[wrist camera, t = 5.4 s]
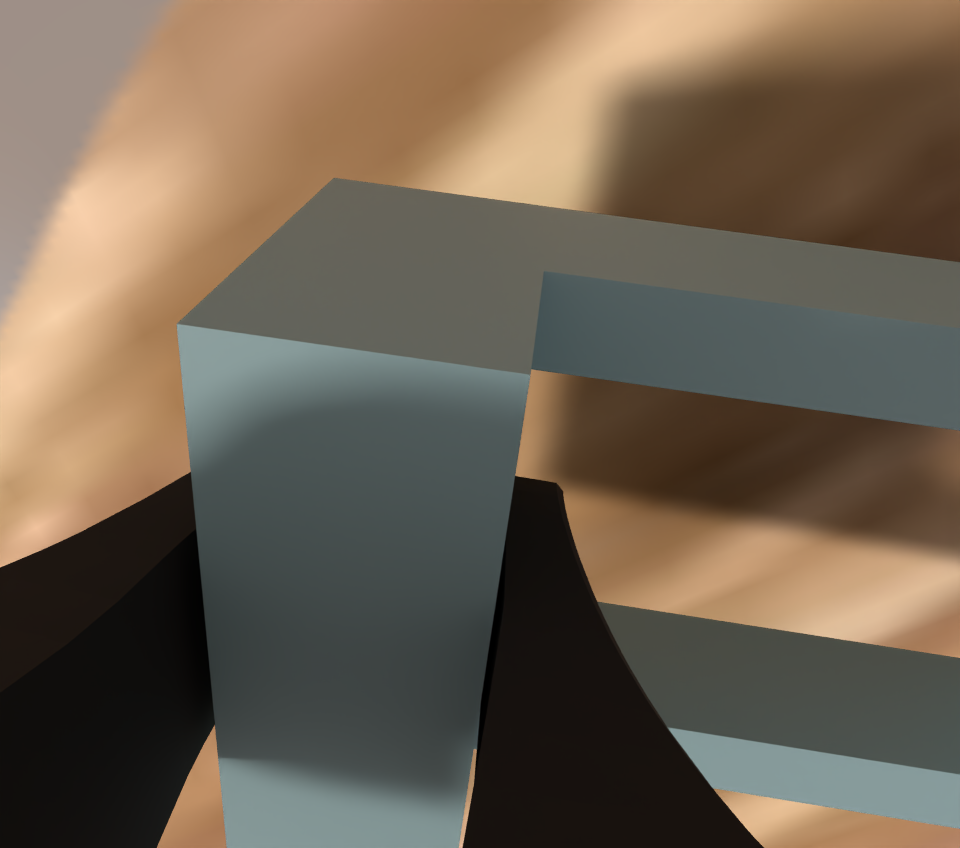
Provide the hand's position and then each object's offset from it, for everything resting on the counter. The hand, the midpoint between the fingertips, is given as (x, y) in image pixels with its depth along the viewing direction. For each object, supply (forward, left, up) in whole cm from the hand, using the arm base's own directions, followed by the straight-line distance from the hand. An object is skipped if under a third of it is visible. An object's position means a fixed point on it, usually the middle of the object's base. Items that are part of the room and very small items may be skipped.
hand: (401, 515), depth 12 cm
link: (-5, 0, -2) cm, 6 cm away
